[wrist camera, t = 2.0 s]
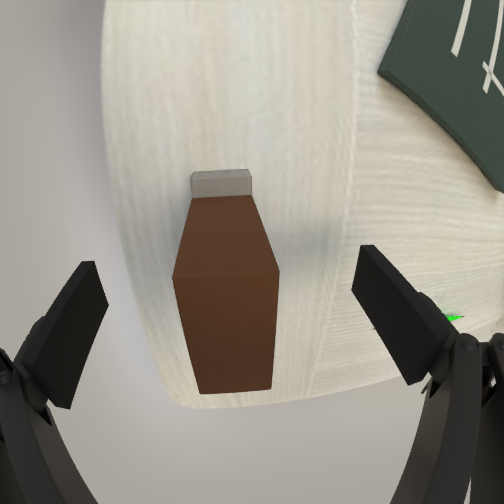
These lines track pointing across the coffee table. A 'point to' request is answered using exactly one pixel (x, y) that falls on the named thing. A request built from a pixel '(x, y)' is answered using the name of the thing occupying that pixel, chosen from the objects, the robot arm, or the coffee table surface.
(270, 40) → the coffee table surface
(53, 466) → the robot arm
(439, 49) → the chalkboard
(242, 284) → the eraser
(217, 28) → the coffee table surface
